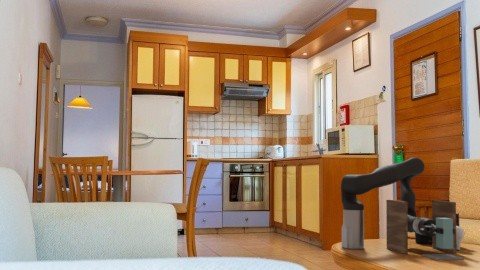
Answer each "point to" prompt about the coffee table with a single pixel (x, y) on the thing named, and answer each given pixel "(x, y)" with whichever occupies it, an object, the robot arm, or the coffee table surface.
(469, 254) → the coffee table surface
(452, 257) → the slate mat
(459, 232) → the lightbulb
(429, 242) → the pen holder
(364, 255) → the coffee table surface
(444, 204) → the wooden divider stand
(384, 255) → the coffee table surface
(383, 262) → the coffee table surface
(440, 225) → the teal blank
